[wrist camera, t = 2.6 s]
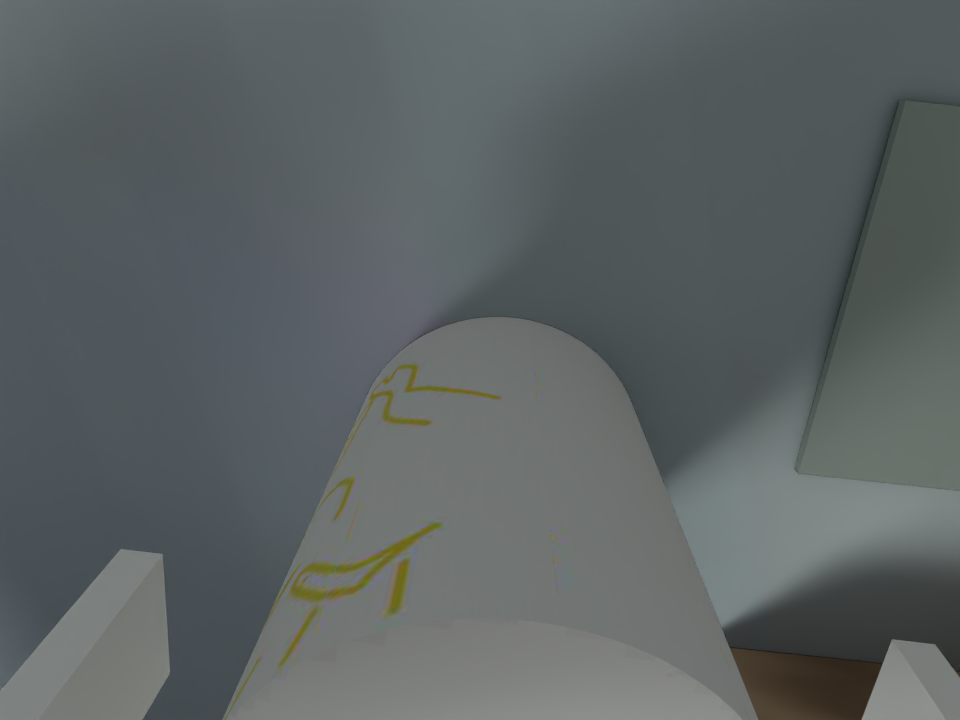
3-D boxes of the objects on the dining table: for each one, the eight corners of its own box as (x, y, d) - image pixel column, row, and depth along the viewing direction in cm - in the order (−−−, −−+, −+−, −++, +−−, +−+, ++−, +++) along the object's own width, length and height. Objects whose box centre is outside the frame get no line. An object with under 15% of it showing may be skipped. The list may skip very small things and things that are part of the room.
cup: (424, 267, 19) (313, 516, 8) (692, 391, 20) (922, 764, 9) (316, 508, 22) (121, 945, 11) (558, 607, 23) (609, 1101, 12)
